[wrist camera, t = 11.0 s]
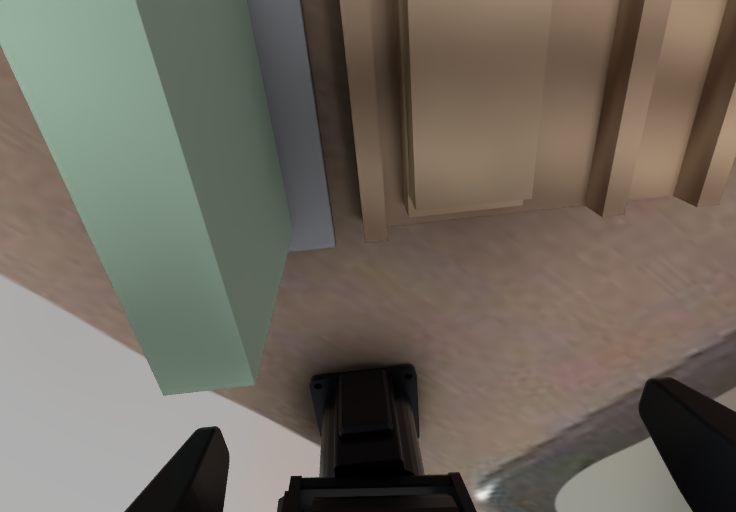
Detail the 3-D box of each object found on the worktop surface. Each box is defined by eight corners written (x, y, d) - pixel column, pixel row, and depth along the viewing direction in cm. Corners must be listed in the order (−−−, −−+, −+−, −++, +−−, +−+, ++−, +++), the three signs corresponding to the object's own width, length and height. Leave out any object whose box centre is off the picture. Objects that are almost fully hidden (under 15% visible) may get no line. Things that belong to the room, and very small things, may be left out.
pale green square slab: (293, 231, 20) (255, 385, 11) (242, 237, 20) (163, 395, 11) (244, -13, 15) (111, -79, 6) (177, -6, 15) (-49, -63, 6)
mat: (335, 241, 21) (335, 246, 20) (208, 255, 21) (205, 261, 20) (294, -45, 15) (292, -48, 15) (120, -28, 15) (112, -30, 15)
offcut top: (517, 186, 18) (531, 198, 16) (410, 197, 17) (416, 211, 16) (540, -81, 13) (562, -94, 12) (398, -67, 13) (404, -78, 12)
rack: (678, 186, 21) (718, 204, 18) (362, 220, 21) (365, 242, 18) (767, -128, 15) (840, -156, 13) (330, -83, 15) (328, -104, 13)
